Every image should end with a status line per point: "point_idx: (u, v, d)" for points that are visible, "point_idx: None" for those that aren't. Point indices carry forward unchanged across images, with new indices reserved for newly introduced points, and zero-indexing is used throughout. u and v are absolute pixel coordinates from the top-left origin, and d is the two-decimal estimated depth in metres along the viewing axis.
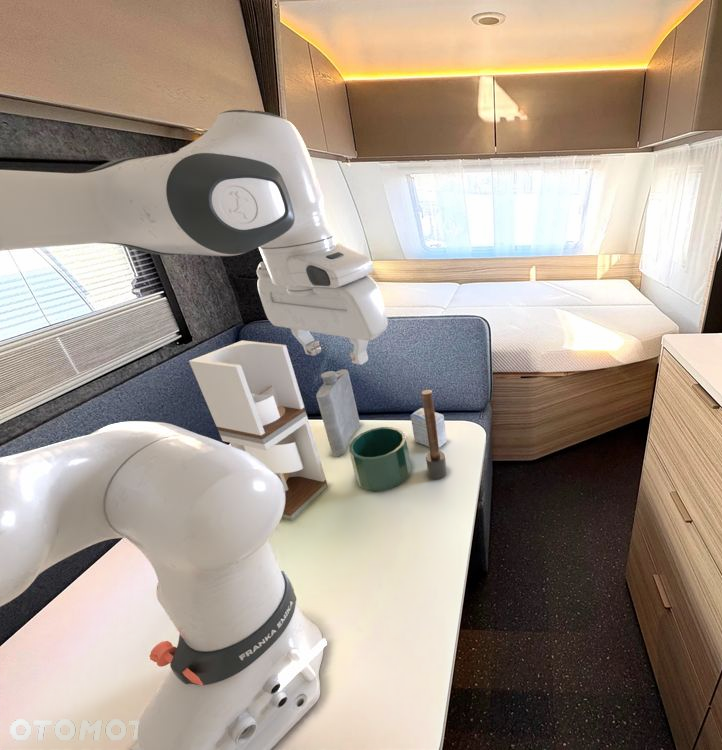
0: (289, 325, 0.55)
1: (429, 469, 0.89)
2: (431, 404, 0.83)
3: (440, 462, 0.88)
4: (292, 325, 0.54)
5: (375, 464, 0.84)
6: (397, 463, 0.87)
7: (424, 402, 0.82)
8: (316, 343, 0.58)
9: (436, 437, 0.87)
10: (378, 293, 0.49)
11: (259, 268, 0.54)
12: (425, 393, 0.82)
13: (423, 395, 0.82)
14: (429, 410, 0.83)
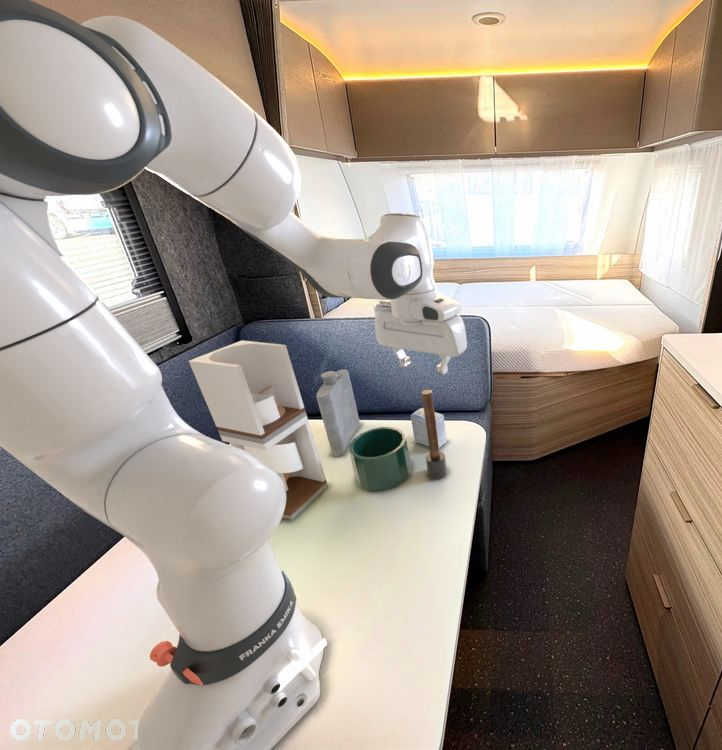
0: (394, 345, 0.78)
1: (429, 469, 0.89)
2: (431, 404, 0.83)
3: (440, 462, 0.88)
4: (396, 345, 0.78)
5: (375, 464, 0.84)
6: (397, 463, 0.87)
7: (424, 402, 0.82)
8: (408, 358, 0.81)
9: (436, 437, 0.87)
10: (463, 326, 0.73)
11: (376, 305, 0.78)
12: (425, 393, 0.82)
13: (423, 395, 0.82)
14: (429, 410, 0.83)
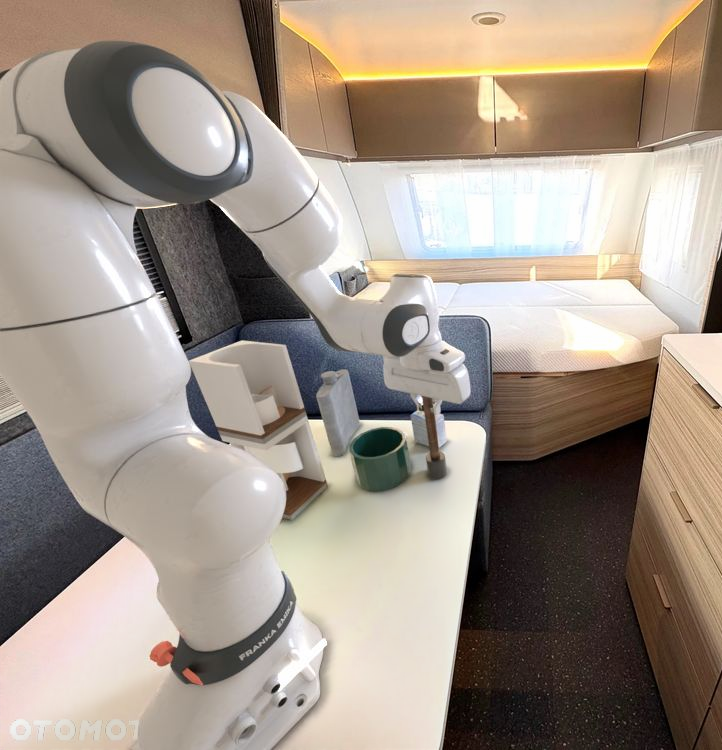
0: (401, 389, 0.83)
1: (429, 469, 0.89)
2: (431, 404, 0.83)
3: (440, 462, 0.88)
4: (403, 389, 0.82)
5: (375, 464, 0.84)
6: (397, 463, 0.87)
7: (424, 402, 0.82)
8: None
9: (436, 437, 0.87)
10: (467, 374, 0.78)
11: None
12: None
13: None
14: (428, 410, 0.83)
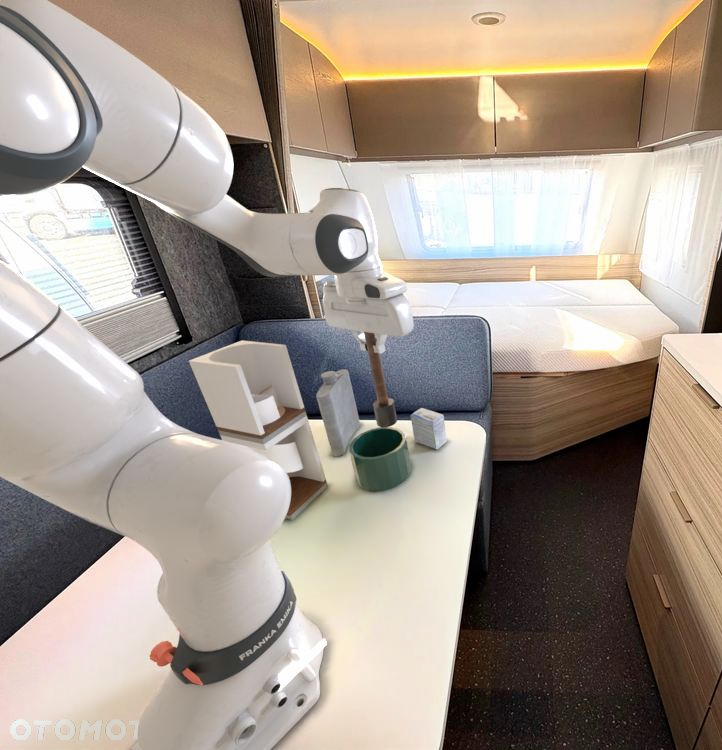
0: (342, 326, 0.77)
1: (376, 416, 0.84)
2: (374, 342, 0.77)
3: (388, 408, 0.83)
4: (344, 326, 0.77)
5: (375, 464, 0.84)
6: (397, 463, 0.87)
7: (366, 339, 0.77)
8: None
9: (382, 380, 0.81)
10: (409, 305, 0.72)
11: (325, 285, 0.77)
12: None
13: None
14: (372, 348, 0.77)
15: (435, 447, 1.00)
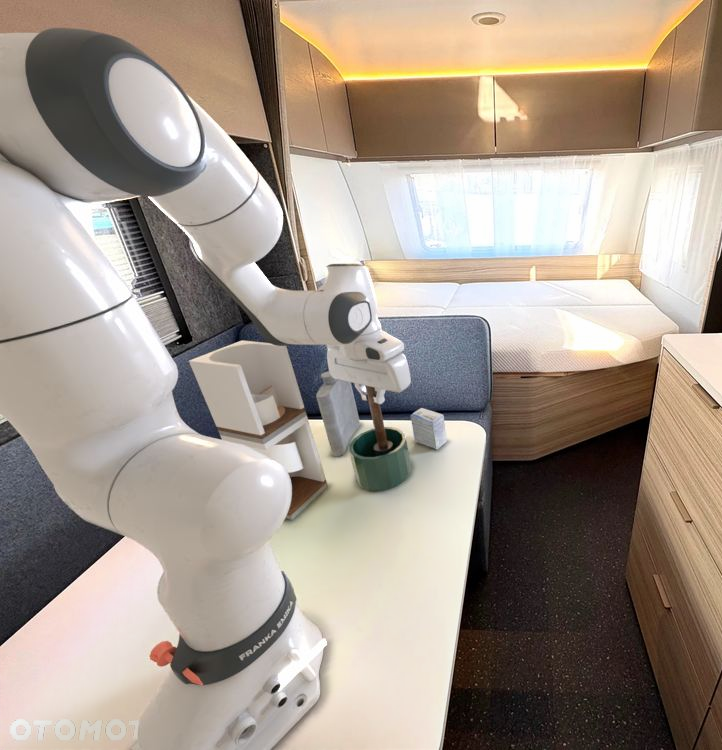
0: (345, 379, 0.84)
1: None
2: (374, 393, 0.84)
3: (387, 451, 0.89)
4: (347, 379, 0.83)
5: (375, 464, 0.84)
6: (397, 463, 0.87)
7: (367, 391, 0.83)
8: None
9: (382, 426, 0.88)
10: (406, 363, 0.79)
11: None
12: None
13: None
14: (372, 399, 0.84)
15: (435, 447, 1.00)
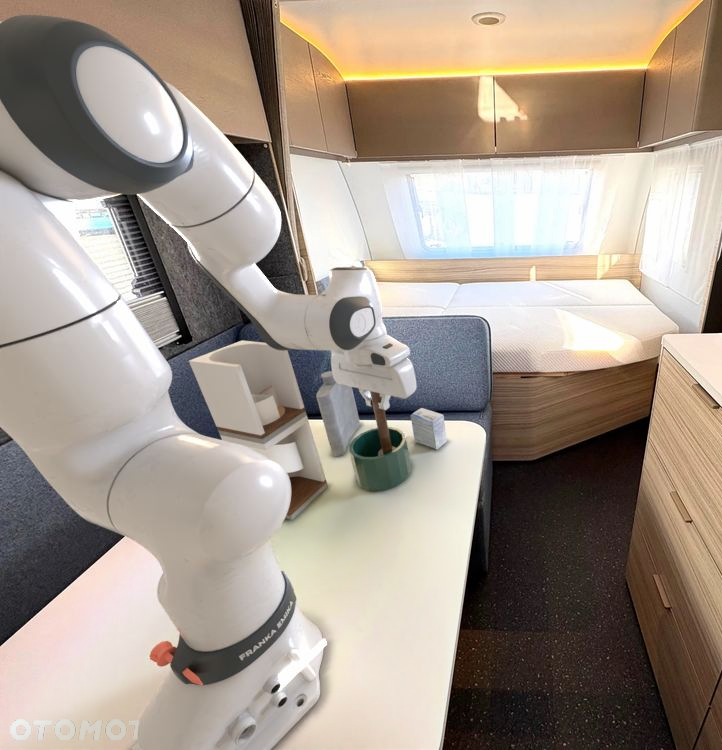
0: (349, 384, 0.82)
1: None
2: (379, 399, 0.82)
3: None
4: (351, 384, 0.82)
5: (375, 464, 0.84)
6: (397, 463, 0.87)
7: (372, 397, 0.82)
8: None
9: (387, 432, 0.86)
10: (412, 369, 0.77)
11: None
12: None
13: None
14: (377, 405, 0.82)
15: (435, 447, 1.00)
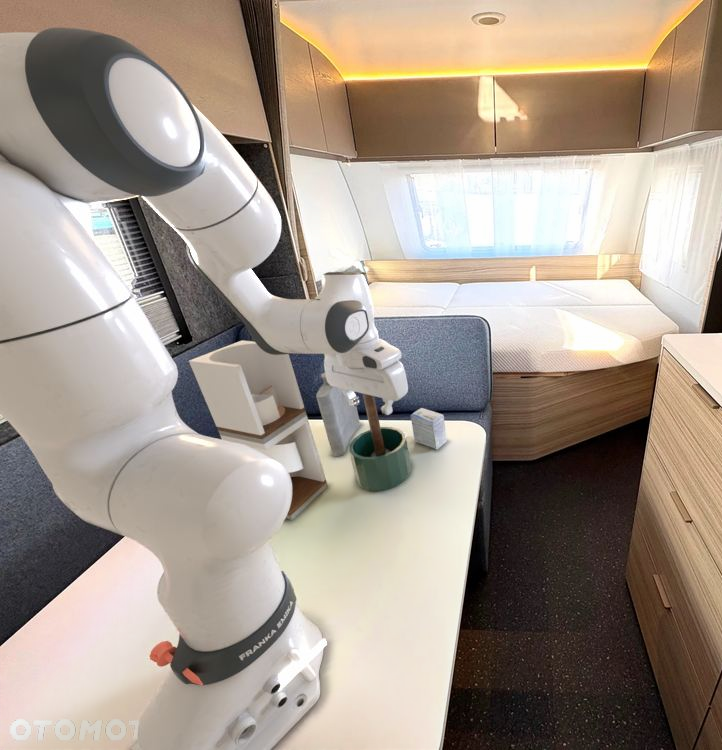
0: (342, 387, 0.83)
1: None
2: (372, 402, 0.84)
3: None
4: (344, 387, 0.83)
5: (375, 464, 0.84)
6: (397, 463, 0.87)
7: (365, 400, 0.83)
8: (357, 398, 0.86)
9: (380, 435, 0.87)
10: (403, 371, 0.78)
11: None
12: None
13: None
14: (370, 407, 0.84)
15: (435, 447, 1.00)
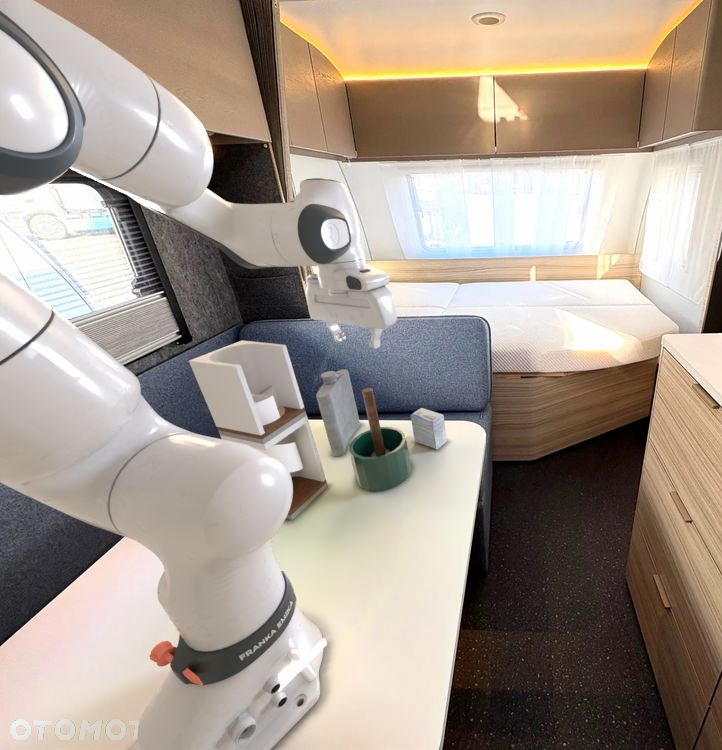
0: (325, 319, 0.77)
1: None
2: (372, 402, 0.84)
3: None
4: (328, 319, 0.76)
5: (375, 464, 0.84)
6: (397, 463, 0.87)
7: (365, 400, 0.83)
8: (343, 334, 0.80)
9: (380, 435, 0.87)
10: (392, 297, 0.72)
11: (308, 278, 0.77)
12: (365, 391, 0.82)
13: (363, 393, 0.82)
14: (370, 407, 0.84)
15: (435, 447, 1.00)
